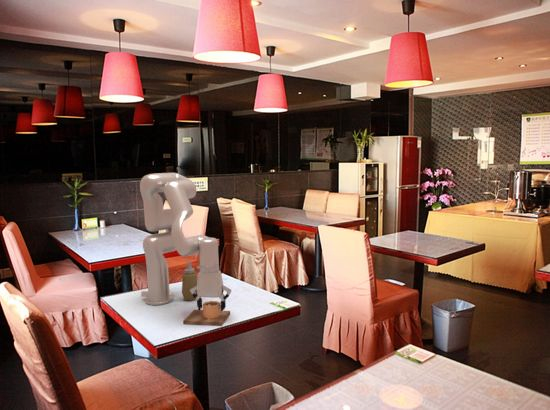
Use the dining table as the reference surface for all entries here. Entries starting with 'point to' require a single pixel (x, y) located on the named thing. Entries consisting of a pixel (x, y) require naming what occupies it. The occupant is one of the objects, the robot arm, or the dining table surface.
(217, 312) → the terracotta pot
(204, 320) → the hub board
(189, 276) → the squeeze bottle
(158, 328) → the dining table surface
